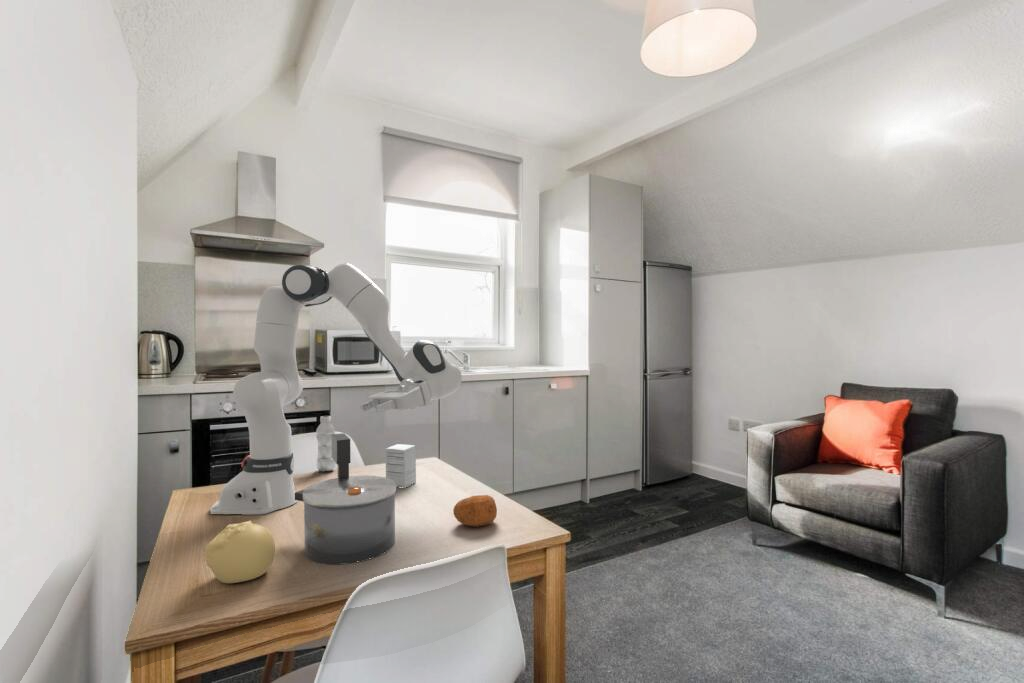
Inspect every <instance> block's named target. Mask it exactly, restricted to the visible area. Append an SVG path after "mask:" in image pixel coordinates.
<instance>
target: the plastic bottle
mask: <svg viewBox="0 0 1024 683" xmlns="http://www.w3.org/2000/svg"><path fill="white" fill-rule="evenodd" d="M319 422H320V424H318V426H317V428H316V430H315V434H316V440H317V459H316V469H317V470H318V471H319V472H325V471H327V472H330V471H333V470H335V468H336V466H337V464H336V462H335V461H334V460H333V458H332V438H331V434H336V433H335V432H336V429H335V427H334V425H333V424H332V423H331V422H332V416H331V415H322V416H320V419H319Z"/></svg>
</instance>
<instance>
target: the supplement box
mask: <svg viewBox="0 0 1024 683" xmlns="http://www.w3.org/2000/svg"><path fill="white" fill-rule="evenodd" d="M416 452H417V450H416V445H414V444H404V443H403V444H401V443H396V444H394V445H391V446H389V447H386V448H385V478H389V479H391V480H393V481H395V483H396V487H403V488H402V489H404V488H405V489H406V487H407V488H408V487H410V486H412V485H414V484H416V483H417V463H416V461H417V460H416V458H417V457H416V456H417V455H416ZM415 482H416V483H415ZM413 483H414V484H413ZM411 484H412V485H411Z"/></svg>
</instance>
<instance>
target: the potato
mask: <svg viewBox="0 0 1024 683" xmlns="http://www.w3.org/2000/svg"><path fill="white" fill-rule="evenodd" d="M497 512H498V509H497V505H496V501H495V499H494V498H493V497H492V496H491V495H488V494H484V495H479V494H478V495H472V496H469V497H465V498H462V499H461V500H458V501H457V503H456V504H455V505H454V506H453V515H454V518H455V519H456V520H457V522H459V523H461V524H462V525H465V526H469V527H475V528H476V527H477V528H478V527H483V526H487V525H490V524H491V523H493V522H494V521H495V520H496V518H497V515H498V514H497Z"/></svg>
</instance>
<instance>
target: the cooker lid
mask: <svg viewBox="0 0 1024 683" xmlns="http://www.w3.org/2000/svg"><path fill="white" fill-rule="evenodd" d="M331 438H332V458H333V460H334V461H335V462H336V466H337V477H334V478H330V479H325V480H321V481H318V482H316V483H313V484H310V485H309V486H307V487H305V490H304V489H303V490H304V491H303V501H304V502H305V503H307V504H309V505H312V506H317V507H326V508H342V507H354V506H361V505H366V504H371V503H374V502H378V501H381V500H384V499H386V498H388V497H390V496H391V495H393V494H394V493H395V494H396V492H397V488H396V483H395V481H393V480H391V479H389V478H386V476H385V477H384V476H378V475H350V464H351V438H350V437H349V436H348V435H347V434H346V433H344V432H343V433H335V434H331ZM303 501H302V502H303ZM304 502H303V503H304Z"/></svg>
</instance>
